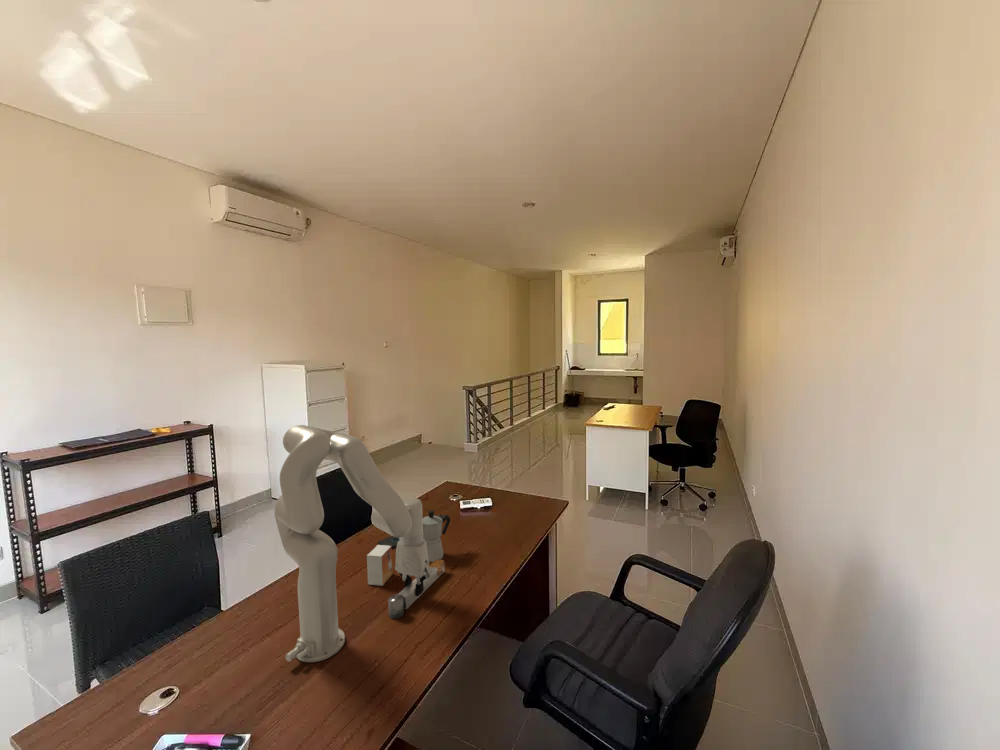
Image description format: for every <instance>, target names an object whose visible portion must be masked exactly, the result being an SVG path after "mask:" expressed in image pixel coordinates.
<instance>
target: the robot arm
mask: <svg viewBox="0 0 1000 750" xmlns="http://www.w3.org/2000/svg"><path fill="white" fill-rule="evenodd" d="M282 444H283V448H284V449H285V451H286V452H287V453H288V456H287V457H286V458H285V460H284V462H283V464H282V466H281V469H280V472H279V485H280V490H281V495H279V497H278V498H277V500H276V501H275V506H274V518H275V522H276V523H275V524H276V525H277V529H278V530H277V531H278V533H279V536H280V537H279V538H280V541H281V544H282V547H283V551H284V552H285V553H286V555H287V556H288V557H289V558H291V560H293V561H294V562H295V564H296V565H298V569H299V570H298V572H299V573H298V578H297V602H298V603H297V604H298V616H299V617H298V618H299V619H298V620H299V632H300V633H299V634H300V636H299V637H298V638H297V640H296V644H295V647H294V648H293V649H291V650H290V651H289V652H288V653H285V656H284V657H285V661H287V662H292V660H293V659H295V658H297V660H299V661H300V662H304V663H317V662H321V661H324V660H326V659H329V658H331V657H333V656H334V655H336V654H337V653H338V652H339V651H340V650H341V649H342V647H344V644H345V641H346V634H345V632H344V631H343V630H342V629H341V628H339V619H338V618H339V617H338V599H337V580H336V579H337V578H336V571H337V570H336V569H337V561H338V548H337V544H336V542H335V541H334V540H333V538H331V537H330V536H329V535H328V534H326V532H323V531H322V530H320V528H321V526H322V525H323V523H324V519H325V511H324V507H323V503H322V499H321V495H320V491H319V487H318V482H317V481H318V480H317V471H318V470H319V467H320V465H321V463H322V462H323V461H332V462H334V463H337V464H338V465H339V467H340V469H341V471H342V472H343V474H344V475H345V477H346V479H347V480H348V482H349V484H350V485H351V487H352V489H353V491H354V492H355V493H356V494H357V496H359V497H360V498H361V499H362V500H363V501H365V502H366V503H367V504H368V505H369V506H371V507H372V508H373V510H372V512H371V516H370V520H371V523H372V524H373V526H374V527H376V529H379V530H381V531H382V532H385V533H387V534H389V535H390V537H391V536H393V537H397V538H399V539H400V541H398V543H397V547H396V549H395V566H394V570H395V571H396V572H397V573H398V574H399V575H400V577H401V579H402V581H403V587H404V588H405V587H406V586H408V585H409V584H410V583H411V582H412V581H413V579H412V578H413V577H415V578H416V580H417V584H416V596H419V595H420V594H421V593H422V592H423V590H424V587H423V581H424V580H425V579H427V578H430V577H431V576H432V573H431V571H430V569H429V566H430V562H429V559H428V552H427V547H426V543H425V541H424V537H423V518H424V517H423V503H422V500H420V499H419V498H416V497H408V498H404V499H402V498H401V496H400V495H399V493H398V492H397V491H396V490H395V489H394V488H393V487H392V486H391V484H390V483H389V482H388V481H387V479H386V478H384V476H383V475H382V473H381V471H380V470H379V468H378V466H377V464H376V463H375V461H374V459H373V458H372V456H371V454H370V452H369V451H368V448H367V447H366V445H365V443H364V441H362V439H360V438H358V437H356V436H353V435H349V434H347V433H344V432H343V433H342V432H337V431H331V430H327V429H321V428H318V427H313V426H309V425H306V424H305V425H304V424H300V425H297V424H296V425H294V426H292V427H290V428H289V429H287V430H286V432H285V433H284V435H283V437H282ZM424 571H425V573H426V574H425V575H424ZM420 577H421V578H420ZM404 588H403V589H404Z"/></svg>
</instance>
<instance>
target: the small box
mask: <svg viewBox="0 0 1000 750" xmlns="http://www.w3.org/2000/svg"><path fill="white" fill-rule="evenodd" d="M366 564H367V566H366V567H367V584H368V585H370V586H384V585H385V583H386V582H387V581H388V580H389V579H390V578H391V577H392V575H394V572H393V549H392V546H387V545H378V544H377V545H376V546H375V547H374V548H373V549H372V550H371V551H369V553H367V554H366Z"/></svg>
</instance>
